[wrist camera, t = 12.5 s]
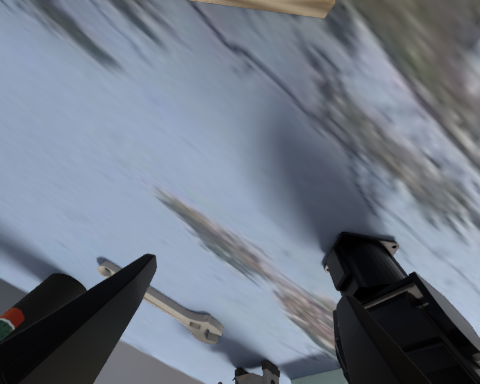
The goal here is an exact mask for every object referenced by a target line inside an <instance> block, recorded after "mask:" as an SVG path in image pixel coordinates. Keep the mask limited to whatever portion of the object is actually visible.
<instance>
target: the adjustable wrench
mask: <svg viewBox="0 0 480 384" xmlns="http://www.w3.org/2000/svg"><path fill="white" fill-rule="evenodd" d="M106 268H107V269H106ZM108 269H109V270H108ZM97 270H98V272H99V273H100V274H101V275H102V276H104V277H106V278H108V277H110V276H111V275H113V274H115V273H116V272H118V271H119V270H121V268H120V267H118V266H117V265H115V264H113V263H112V262H109V261H104V262H103V263H102V264H101V265H100V266H99V267H98V268H97ZM143 300H145V301H146V302H148V303H150V304H151V305H153V306H155V307H156V308H158V309H160V310H161V311H163V312H165V313H166V314H168V315H170V316H171V317H173V318H175V319H177V320H178V321H180V322H181V323H182V324H183V325H184V326H185V327H186V328H187V329H188V330H189V331H190V332H191V333H192V335H193V336H194V337H195V338H196V339H198V340H199V341H201V342H204V343H207V344H217V343H218V338H219V335H220V336H222V333H223V328H224V327H223V325H222V324H221V323H220V322H219V321H217V320H216V319H214V318H213V317H211V315H207V314H205V315H201V314H196V313H193V312H191V311H189V310H187V309H185V308H184V307H182V306H180V305H179V304H177V303H176V302H174V301H172V300H171V299H169V298H168V297H166V296H164V295H163V294H161V293H160V292H158V291H156V290H155V289H153V288H152V287H150V286H149V287H148V289H147V291H146V293H145V295H144V297H143ZM206 329H209V332H211V333H209V332H208V331H207V330H206ZM212 333H214V334H212ZM215 334H217V335H215Z"/></svg>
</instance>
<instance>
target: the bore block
mask: <svg viewBox="0 0 480 384" xmlns="http://www.w3.org/2000/svg"><path fill="white" fill-rule="evenodd" d="M191 1H198V2H206V3H213V4H221V5H228V6H235V7H243V8H250V9H258V10H265V11H273V12H280V13H288V14H295V15H303V16H310V17H318V18H325V17H326V15H327V14H328V13H329V11H330V10H331V8H332V7H333V6H334V4H335V2H336V0H191Z"/></svg>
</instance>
